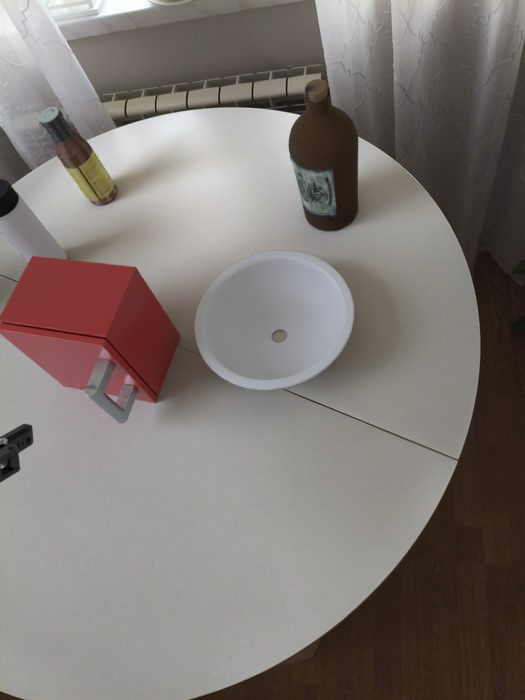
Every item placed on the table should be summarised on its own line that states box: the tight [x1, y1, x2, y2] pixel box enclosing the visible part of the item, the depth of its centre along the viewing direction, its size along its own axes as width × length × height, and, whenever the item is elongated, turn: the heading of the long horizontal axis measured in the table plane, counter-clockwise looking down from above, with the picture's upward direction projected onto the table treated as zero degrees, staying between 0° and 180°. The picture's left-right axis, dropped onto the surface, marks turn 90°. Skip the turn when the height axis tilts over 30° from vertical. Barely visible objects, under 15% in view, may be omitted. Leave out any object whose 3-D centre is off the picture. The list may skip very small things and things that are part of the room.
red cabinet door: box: [0, 323, 159, 424], centre depth 79 cm, size 6×17×19 cm, turn 75°
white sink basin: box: [193, 250, 355, 391], centre depth 85 cm, size 24×24×7 cm
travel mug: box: [0, 178, 70, 264], centre depth 96 cm, size 6×7×20 cm
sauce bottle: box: [37, 106, 117, 206], centre depth 102 cm, size 7×6×20 cm
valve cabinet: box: [0, 256, 182, 397], centre depth 83 cm, size 11×17×19 cm, turn 75°
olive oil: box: [287, 78, 359, 232], centre depth 87 cm, size 11×11×25 cm
